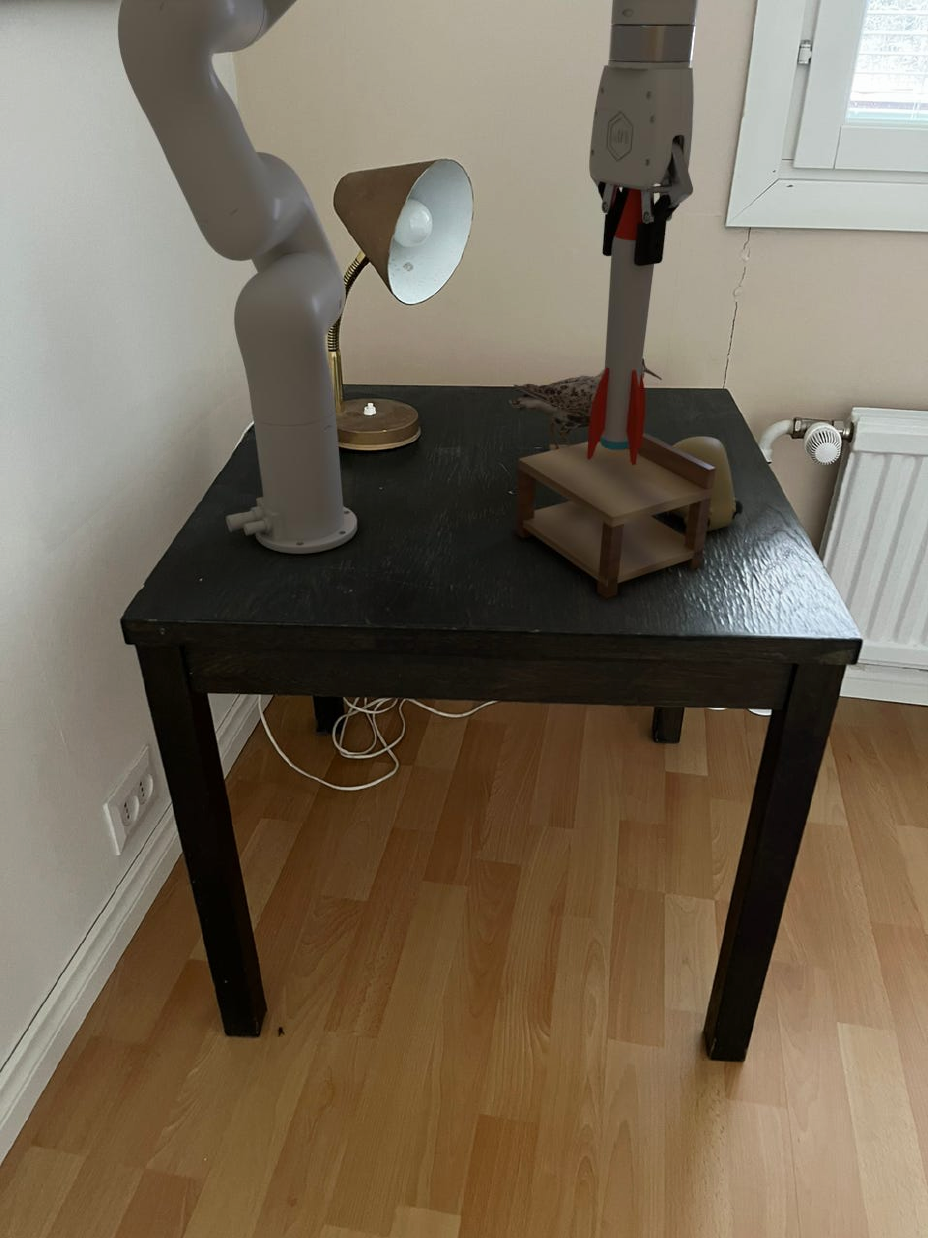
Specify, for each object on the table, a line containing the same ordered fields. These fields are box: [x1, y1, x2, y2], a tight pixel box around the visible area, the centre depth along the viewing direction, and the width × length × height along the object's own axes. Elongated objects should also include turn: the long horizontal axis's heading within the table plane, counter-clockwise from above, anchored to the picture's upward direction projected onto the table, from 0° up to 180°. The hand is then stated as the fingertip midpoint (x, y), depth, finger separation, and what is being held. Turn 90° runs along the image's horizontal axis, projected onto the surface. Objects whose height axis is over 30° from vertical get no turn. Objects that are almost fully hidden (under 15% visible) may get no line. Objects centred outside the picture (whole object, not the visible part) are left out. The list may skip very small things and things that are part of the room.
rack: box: [515, 431, 716, 599], centre depth 111 cm, size 14×18×12 cm
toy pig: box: [669, 436, 744, 532], centre depth 119 cm, size 10×12×11 cm
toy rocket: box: [587, 188, 655, 465], centre depth 100 cm, size 6×6×30 cm
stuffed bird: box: [509, 358, 663, 451], centre depth 132 cm, size 10×20×17 cm, turn 106°
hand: (631, 257), depth 96 cm, fingers closed on toy rocket, 4 cm apart
